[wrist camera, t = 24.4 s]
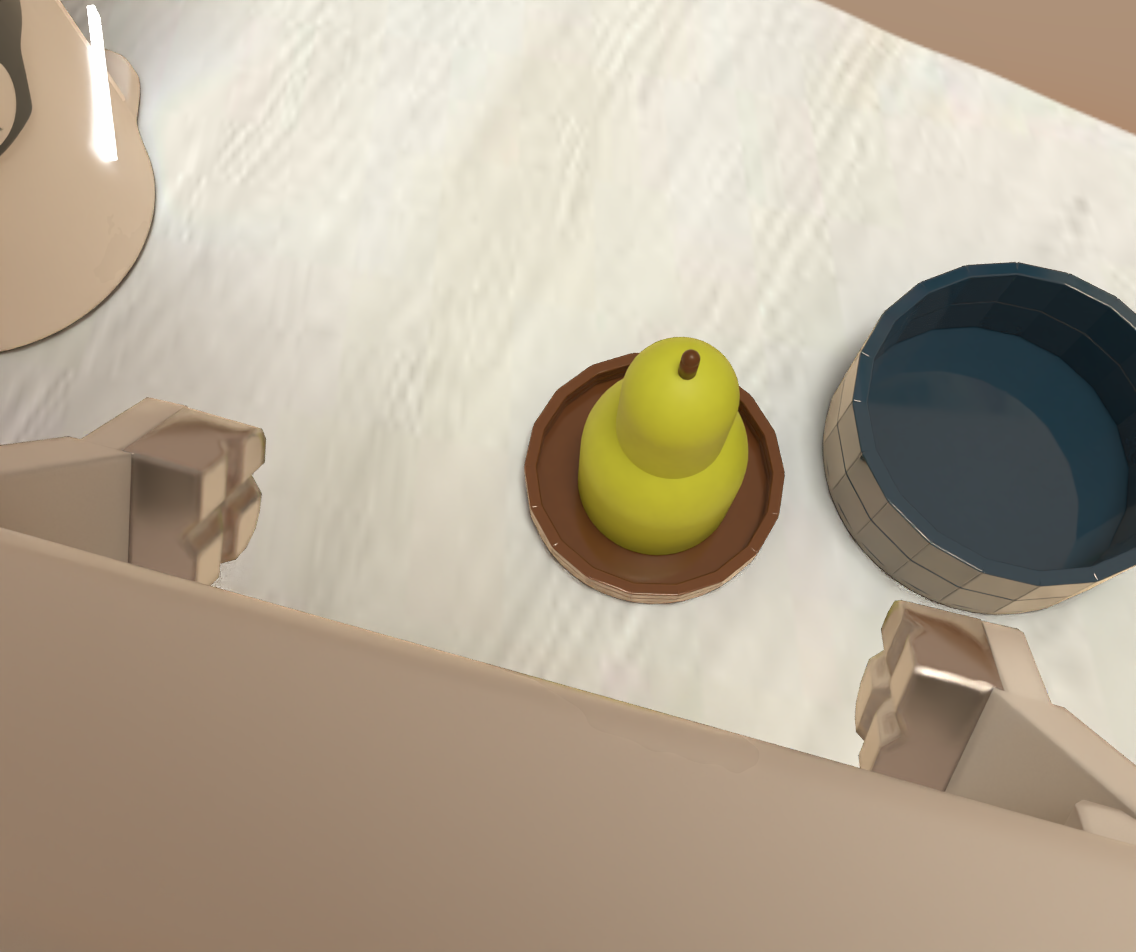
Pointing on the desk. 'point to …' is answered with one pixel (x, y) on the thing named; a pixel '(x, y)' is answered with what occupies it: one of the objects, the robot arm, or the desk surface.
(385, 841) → the robot arm
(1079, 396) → the pot
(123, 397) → the desk surface
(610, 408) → the pear
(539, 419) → the plate
